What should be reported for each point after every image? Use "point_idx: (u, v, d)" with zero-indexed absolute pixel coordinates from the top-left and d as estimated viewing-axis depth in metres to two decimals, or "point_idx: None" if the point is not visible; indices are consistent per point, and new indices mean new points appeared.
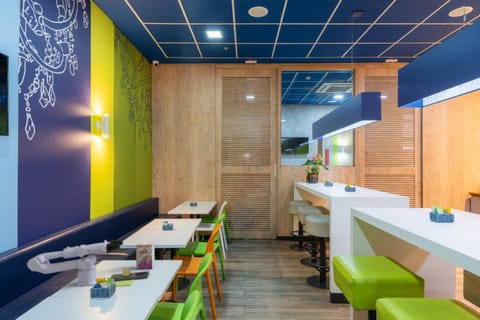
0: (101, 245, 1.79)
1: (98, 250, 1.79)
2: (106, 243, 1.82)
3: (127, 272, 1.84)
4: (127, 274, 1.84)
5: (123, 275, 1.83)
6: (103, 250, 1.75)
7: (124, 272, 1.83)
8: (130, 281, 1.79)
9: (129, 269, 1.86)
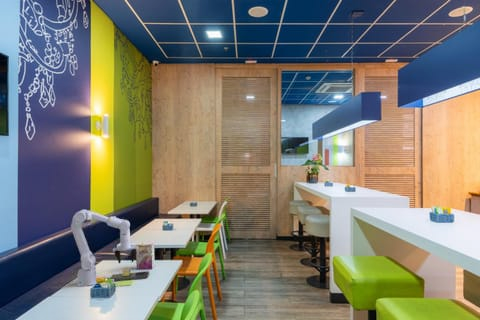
0: None
1: (129, 241, 1.85)
2: None
3: (127, 272, 1.84)
4: (127, 274, 1.84)
5: (123, 275, 1.83)
6: (137, 247, 1.86)
7: (124, 272, 1.83)
8: (130, 281, 1.79)
9: (129, 269, 1.86)
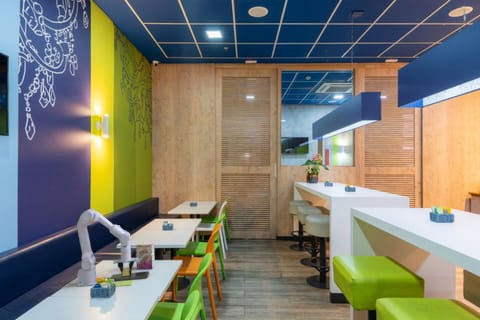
0: None
1: (130, 253, 1.85)
2: None
3: (127, 272, 1.84)
4: (127, 274, 1.84)
5: (123, 275, 1.83)
6: None
7: (124, 272, 1.83)
8: (130, 281, 1.79)
9: None
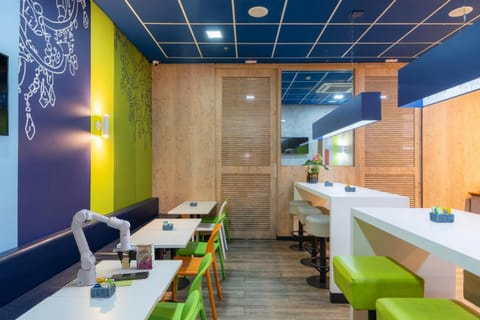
0: None
1: (129, 242, 1.85)
2: None
3: (126, 261, 1.84)
4: (127, 263, 1.84)
5: (123, 264, 1.83)
6: (137, 248, 1.86)
7: (124, 261, 1.83)
8: (130, 281, 1.79)
9: None
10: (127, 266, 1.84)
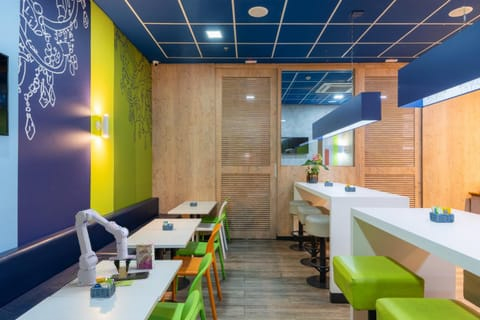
0: None
1: (126, 250, 1.77)
2: None
3: (123, 270, 1.76)
4: (124, 272, 1.76)
5: (120, 273, 1.75)
6: (135, 256, 1.78)
7: (121, 270, 1.75)
8: (130, 281, 1.79)
9: None
10: (124, 275, 1.76)
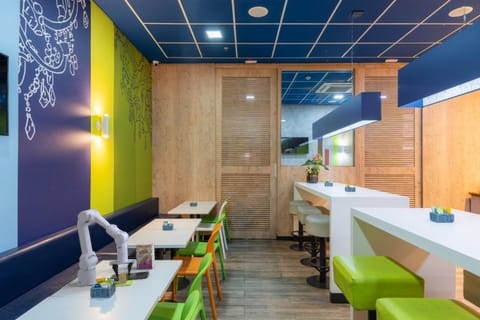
0: None
1: (126, 255, 1.77)
2: None
3: (123, 276, 1.75)
4: (124, 278, 1.75)
5: (120, 279, 1.75)
6: (135, 261, 1.78)
7: (121, 276, 1.75)
8: (130, 281, 1.79)
9: (126, 273, 1.77)
10: (124, 281, 1.76)
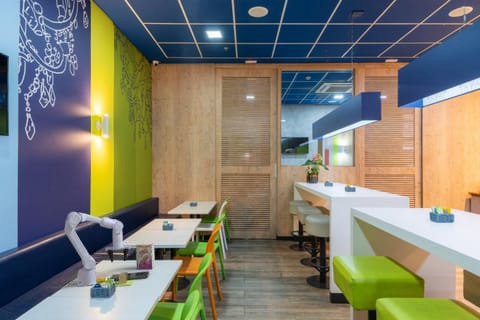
0: None
1: (122, 241, 1.90)
2: None
3: (123, 276, 1.75)
4: (124, 278, 1.75)
5: (120, 279, 1.75)
6: (129, 247, 1.91)
7: (121, 276, 1.75)
8: (130, 281, 1.79)
9: (126, 273, 1.77)
10: (124, 281, 1.76)
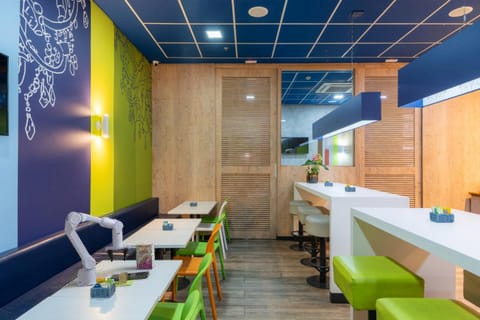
0: None
1: (121, 241, 1.90)
2: None
3: (123, 276, 1.75)
4: (124, 278, 1.75)
5: (120, 279, 1.75)
6: (129, 246, 1.91)
7: (121, 276, 1.75)
8: (130, 281, 1.79)
9: (126, 273, 1.77)
10: (124, 281, 1.76)
